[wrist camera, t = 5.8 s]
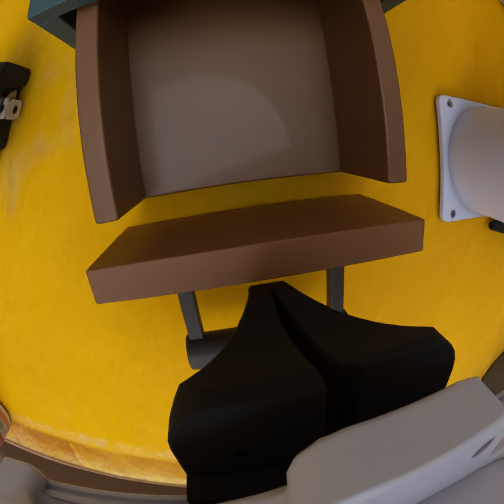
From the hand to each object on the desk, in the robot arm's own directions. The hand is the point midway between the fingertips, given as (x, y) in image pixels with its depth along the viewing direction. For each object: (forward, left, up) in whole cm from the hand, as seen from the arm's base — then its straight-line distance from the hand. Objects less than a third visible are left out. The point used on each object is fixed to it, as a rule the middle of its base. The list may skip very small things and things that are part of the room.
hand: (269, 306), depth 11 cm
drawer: (0, -6, -4) cm, 7 cm away
